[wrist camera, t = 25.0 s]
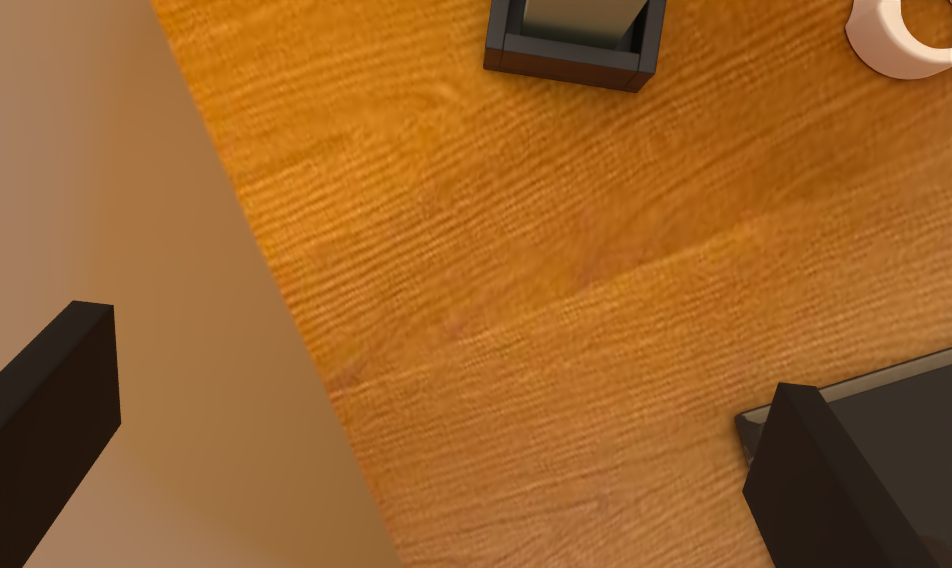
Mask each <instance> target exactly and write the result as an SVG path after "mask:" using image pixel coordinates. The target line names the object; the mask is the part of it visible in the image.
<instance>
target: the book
mask: <svg viewBox="0 0 952 568" xmlns="http://www.w3.org/2000/svg"><path fill="white" fill-rule="evenodd" d="M818 390H819V392H820V393H821V395H822V396H823V398H824V399H825V401H826V402H827V403H828V405H829V406H830V408H831V409H832V411H833V412H834V414H835V415H836V417H837V418H838V419H839V421H840V422H841V424H842V425H843V427H844V428H845V430H846V431H847V433H848V434H849V435H850V437H851V438H852V440H853V441H854V443H855V444H856V446H857V447H858V449H859V450H860V452H861V453H862V454H863V456H864V457H865V459H866V460H867V462H868V463H869V465H870V466H871V468H872V469H873V470H874V472H875V473H876V475H877V476H878V478H879V479H880V481H881V482H882V484H883V485H884V486H885V488H886V489H887V491H888V492H889V494H890V495H891V497H892V498H893V500H894V501H895V502H896V504H897V505H898V507H899V508H900V510H901V511H902V513H903V514H904V516H905V517H906V518H907V520H908V521H909V523H910V524H911V526H912V527H913V529H914V530H915V532H916V533H917V534H918V535H922V536H931V537H938V538H939V539H940V540H942V541H943V542H944V543H945V544H946V545H948V546H949V547H950V548H951V549H952V348H948V349H945V350H942V351H939V352H935V353H932V354H929V355H926V356H923V357H919V358H916V359H913V360H910V361H906V362H903V363H900V364H897V365H894V366H890V367H887V368H884V369H881V370H878V371H874V372H871V373H868V374H865V375H861V376H858V377H855V378H852V379H849V380H845V381H842V382H839V383H836V384H832V385H829V386H826V387H823V388H820V389H818ZM771 404H772V403H771ZM771 404H768V405H765V406H762V407H758V408H755V409H752V410H749V411H746V412H742V413H740V414H739V415H737V417H735V423H736V426H737V430H738V433H739V436H740V440H741V443H742V446H743V449H744V453H745V456H746V459H747V463H748V466H749V469H750V467H751V464H752V461H753V458H754V455H755V452H756V449H757V446H758V443H759V440H760V437H761V434H762V431H763V428H764V425H765V422H766V419H767V416H768V413H769V410H770V407H771Z"/></svg>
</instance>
